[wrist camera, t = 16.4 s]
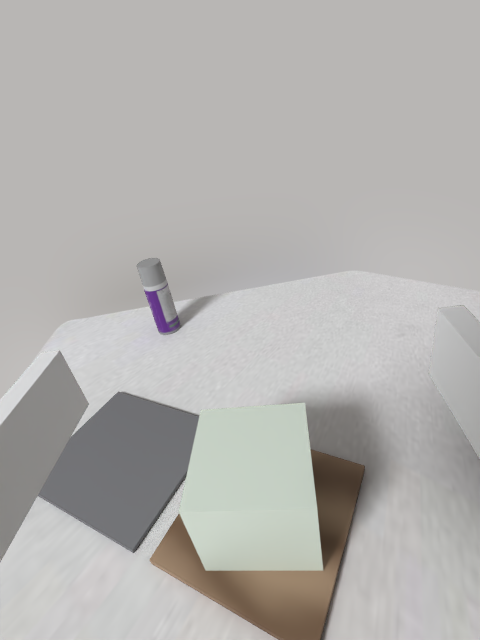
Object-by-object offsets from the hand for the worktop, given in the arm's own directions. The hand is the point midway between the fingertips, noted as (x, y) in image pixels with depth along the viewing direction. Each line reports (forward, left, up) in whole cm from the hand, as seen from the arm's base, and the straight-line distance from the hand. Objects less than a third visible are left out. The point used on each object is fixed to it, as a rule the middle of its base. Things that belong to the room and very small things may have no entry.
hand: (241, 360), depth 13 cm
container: (-37, -43, -30) cm, 64 cm away
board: (-9, -8, -30) cm, 32 cm away
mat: (-9, -29, -30) cm, 42 cm away
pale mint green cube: (-9, -8, -29) cm, 31 cm away
